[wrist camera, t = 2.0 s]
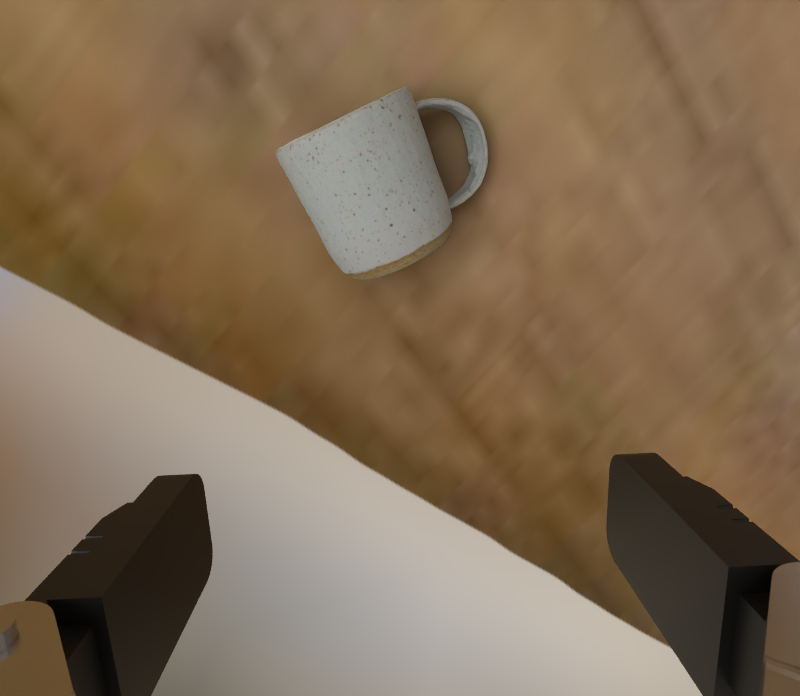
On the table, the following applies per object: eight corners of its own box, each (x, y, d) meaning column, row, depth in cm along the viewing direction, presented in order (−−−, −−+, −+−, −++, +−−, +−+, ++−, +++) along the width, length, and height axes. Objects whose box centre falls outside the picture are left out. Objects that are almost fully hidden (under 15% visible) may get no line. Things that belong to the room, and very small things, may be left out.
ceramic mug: (350, 268, 35) (338, 304, 28) (287, 145, 32) (256, 150, 25) (504, 196, 33) (534, 215, 26) (452, 59, 30) (469, 39, 23)
